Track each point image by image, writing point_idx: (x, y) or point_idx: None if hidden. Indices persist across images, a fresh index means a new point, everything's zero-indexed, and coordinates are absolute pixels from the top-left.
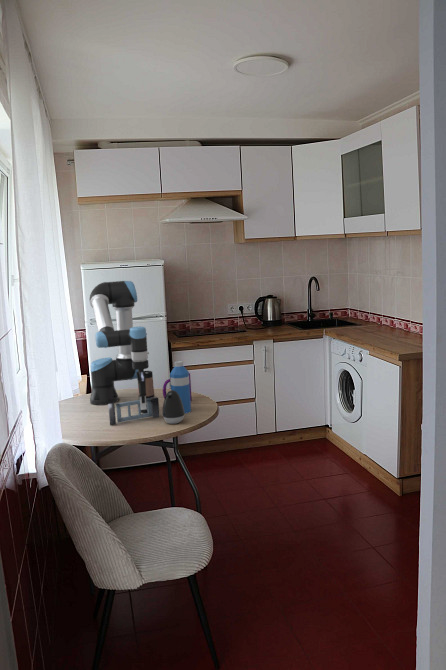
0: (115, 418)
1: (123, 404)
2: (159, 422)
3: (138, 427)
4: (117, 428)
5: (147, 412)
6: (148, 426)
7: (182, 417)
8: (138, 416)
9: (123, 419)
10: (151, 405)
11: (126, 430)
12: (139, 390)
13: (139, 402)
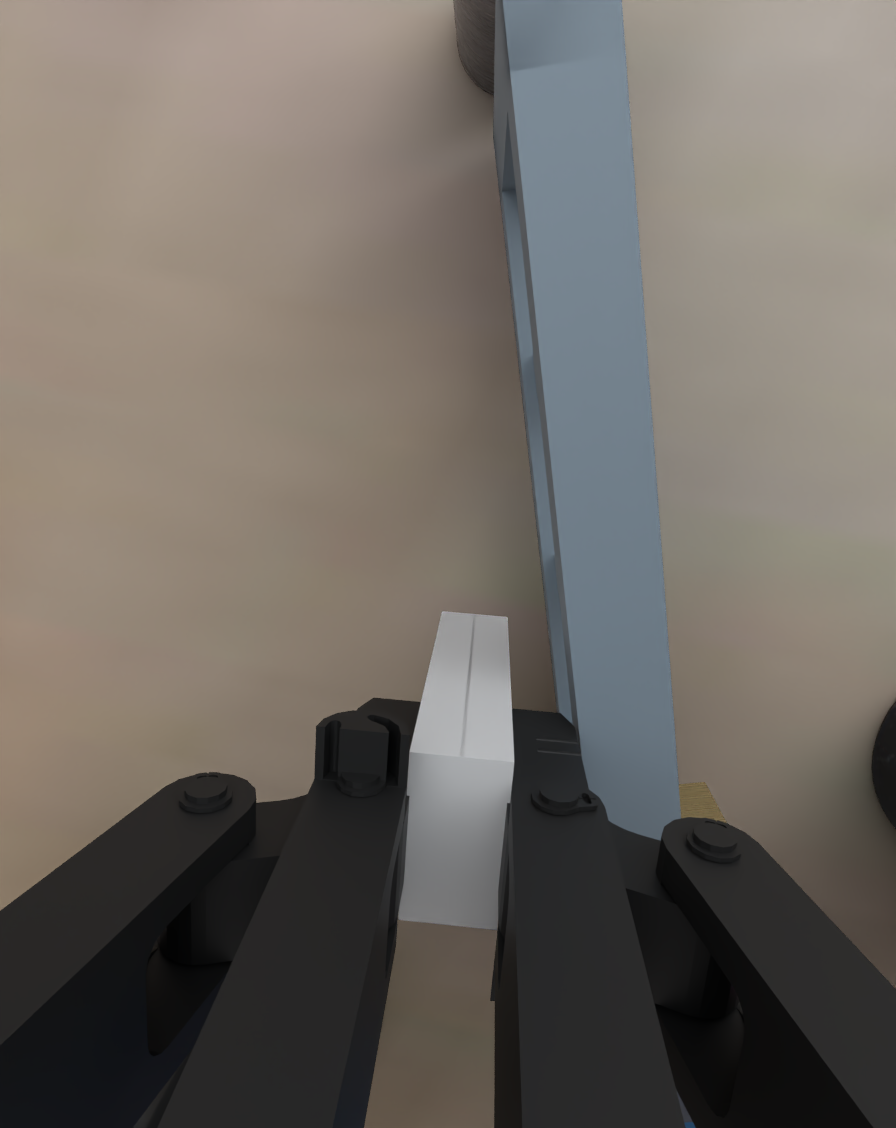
0: (490, 45)
1: (521, 195)
2: (274, 773)
3: (148, 443)
4: (235, 88)
5: (883, 737)
6: (140, 591)
7: None
8: (539, 535)
9: (505, 238)
10: None
11: (59, 227)
12: (527, 893)
13: (568, 663)
